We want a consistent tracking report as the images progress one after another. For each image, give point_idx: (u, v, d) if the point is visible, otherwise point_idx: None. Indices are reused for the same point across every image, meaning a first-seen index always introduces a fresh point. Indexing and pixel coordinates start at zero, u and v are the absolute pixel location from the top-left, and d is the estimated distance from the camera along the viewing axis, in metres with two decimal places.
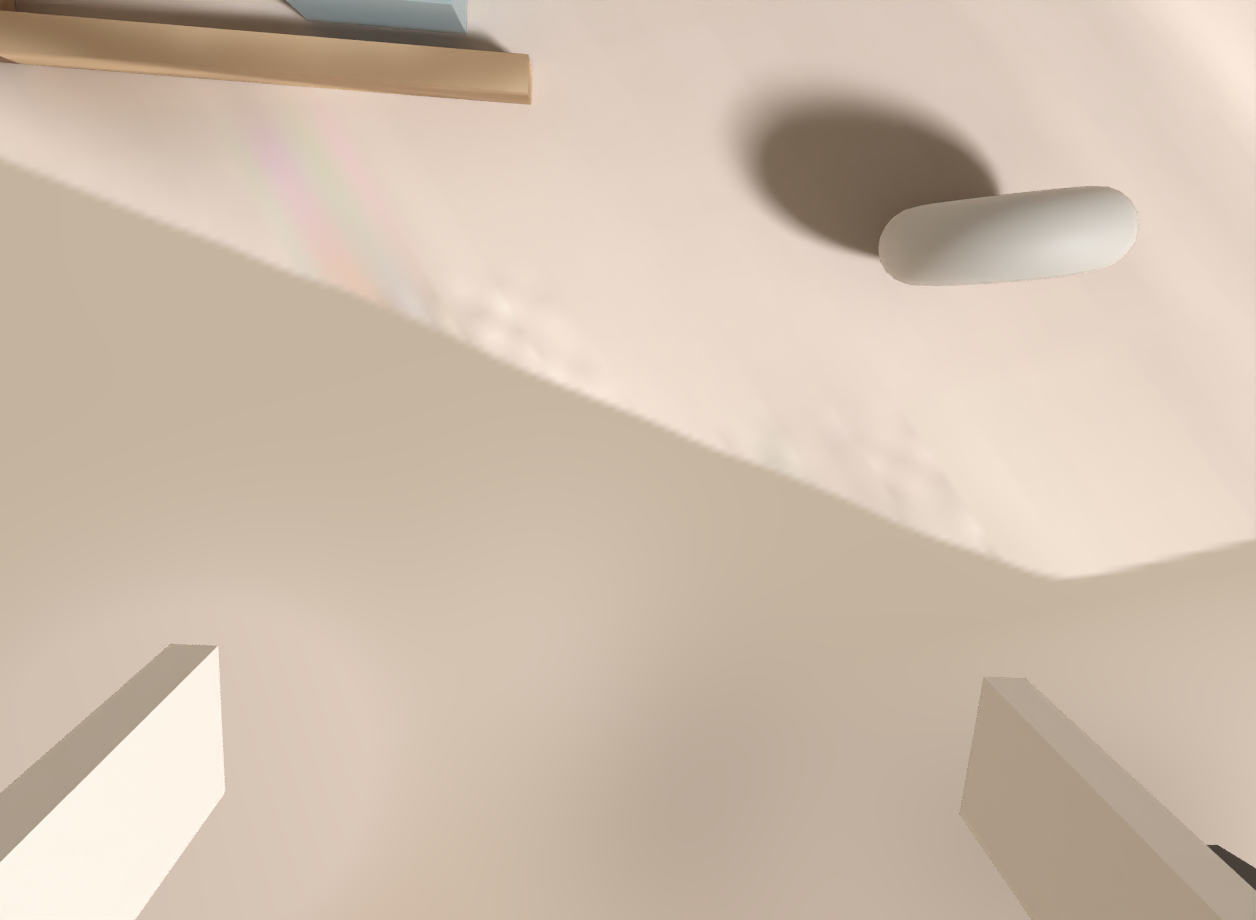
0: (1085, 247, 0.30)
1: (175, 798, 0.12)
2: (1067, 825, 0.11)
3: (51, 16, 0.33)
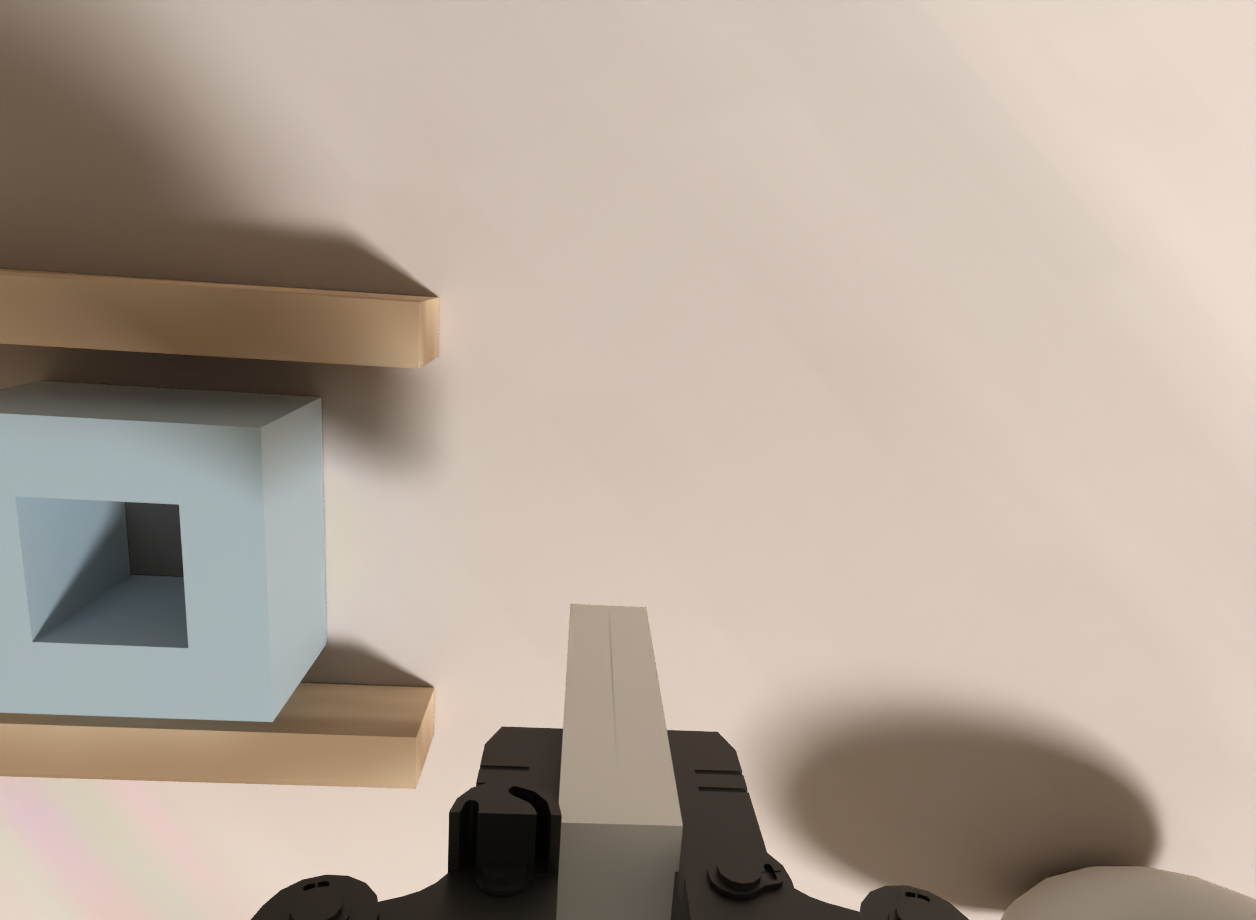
0: None
1: None
2: None
3: None
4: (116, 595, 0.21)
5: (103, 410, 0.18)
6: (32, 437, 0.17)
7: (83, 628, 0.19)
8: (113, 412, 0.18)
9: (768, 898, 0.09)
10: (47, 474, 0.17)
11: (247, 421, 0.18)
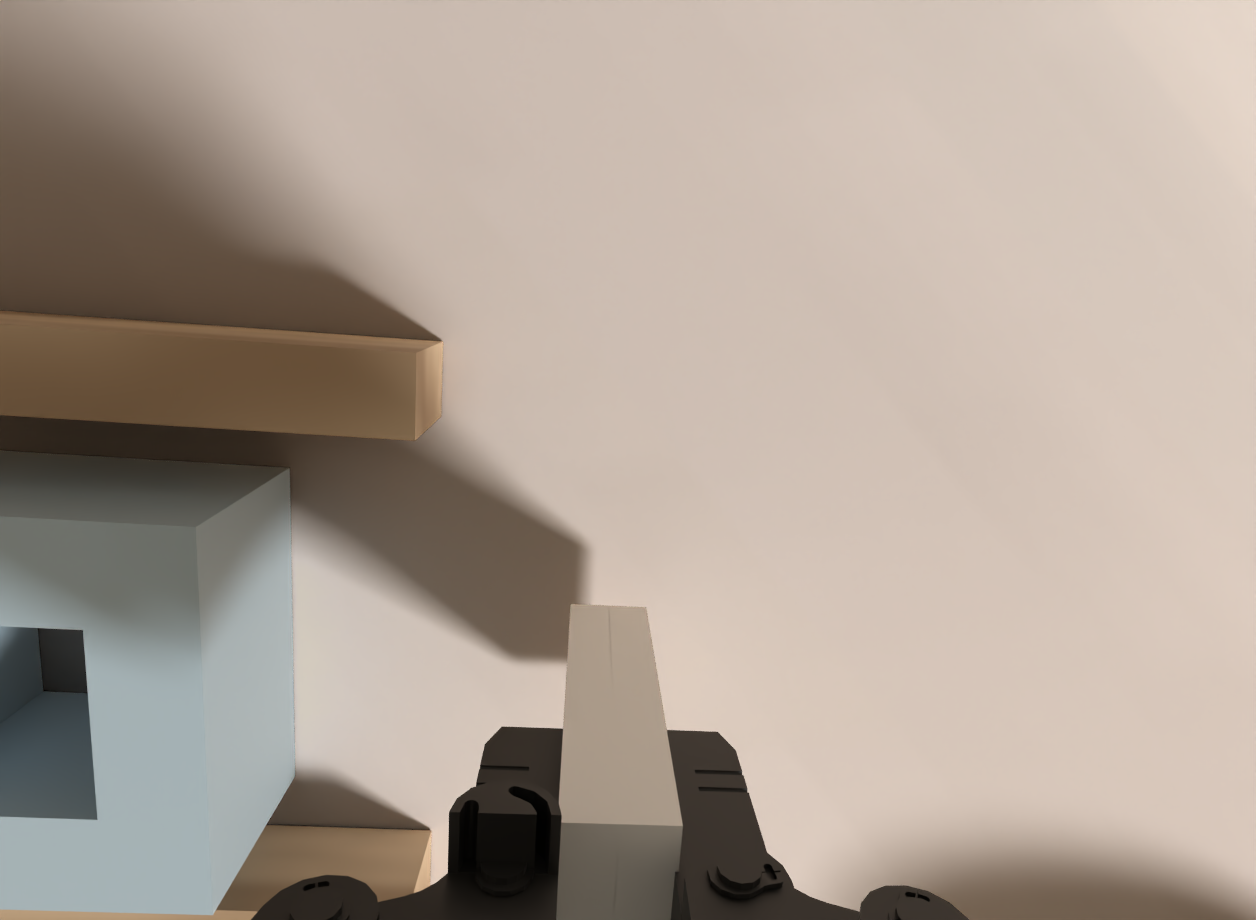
0: None
1: None
2: None
3: None
4: (17, 726, 0.16)
5: None
6: None
7: None
8: None
9: (768, 898, 0.09)
10: None
11: (180, 515, 0.13)
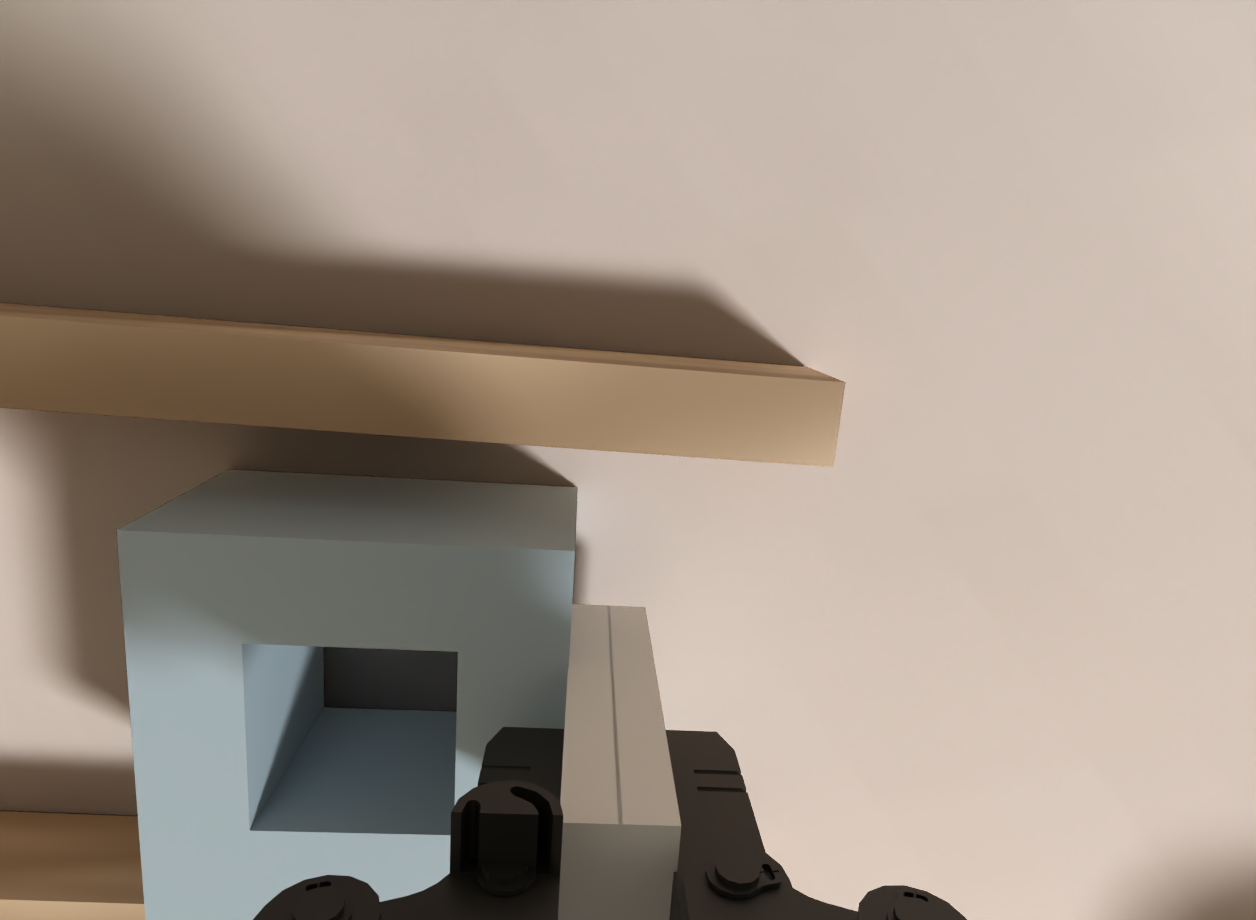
0: None
1: None
2: None
3: None
4: (322, 743, 0.16)
5: (351, 524, 0.13)
6: (271, 566, 0.13)
7: (305, 803, 0.14)
8: (367, 527, 0.13)
9: (766, 898, 0.09)
10: (287, 614, 0.13)
11: (545, 538, 0.13)
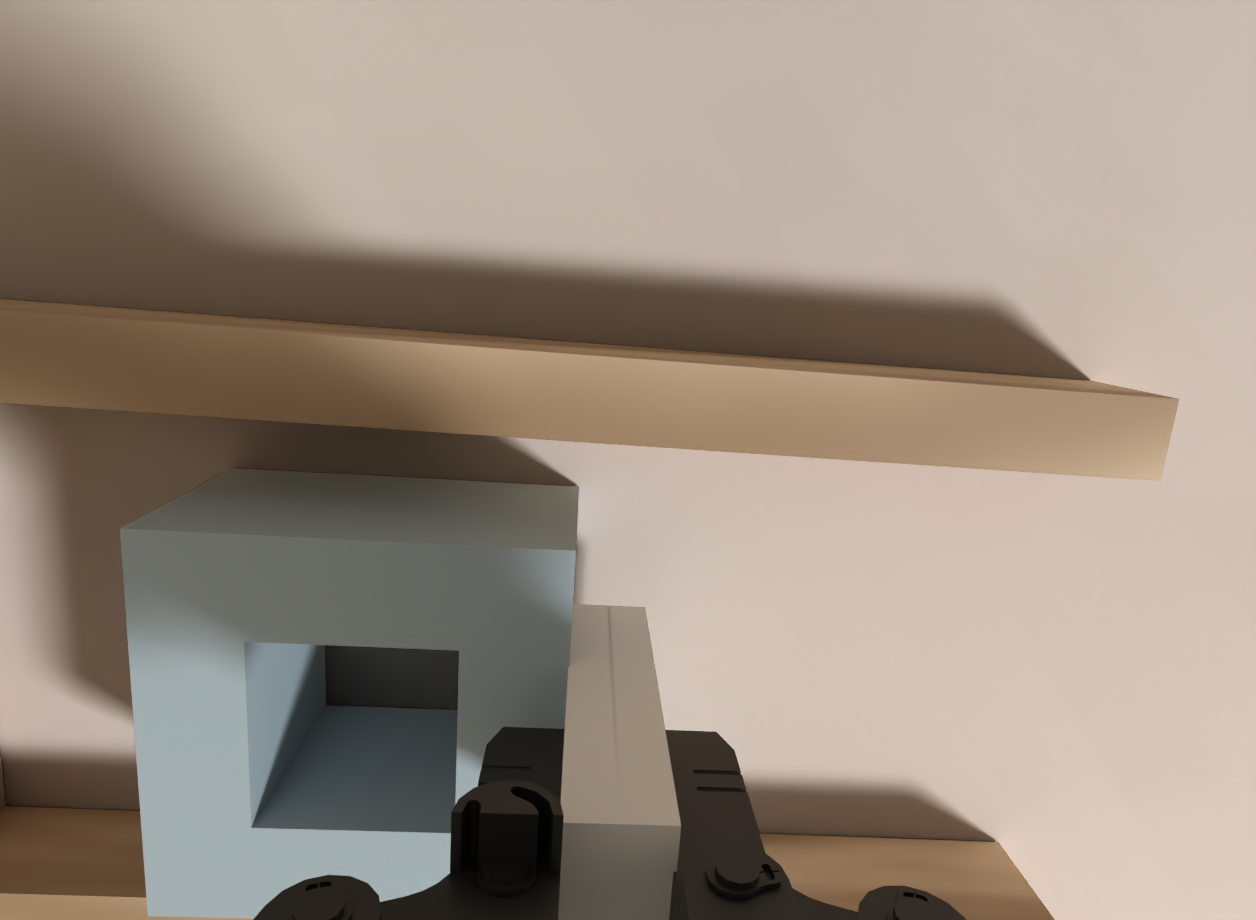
0: None
1: None
2: None
3: (79, 900, 0.15)
4: (323, 741, 0.16)
5: (353, 523, 0.13)
6: (273, 565, 0.13)
7: (306, 801, 0.14)
8: (368, 526, 0.13)
9: (766, 898, 0.09)
10: (289, 613, 0.13)
11: (546, 538, 0.13)
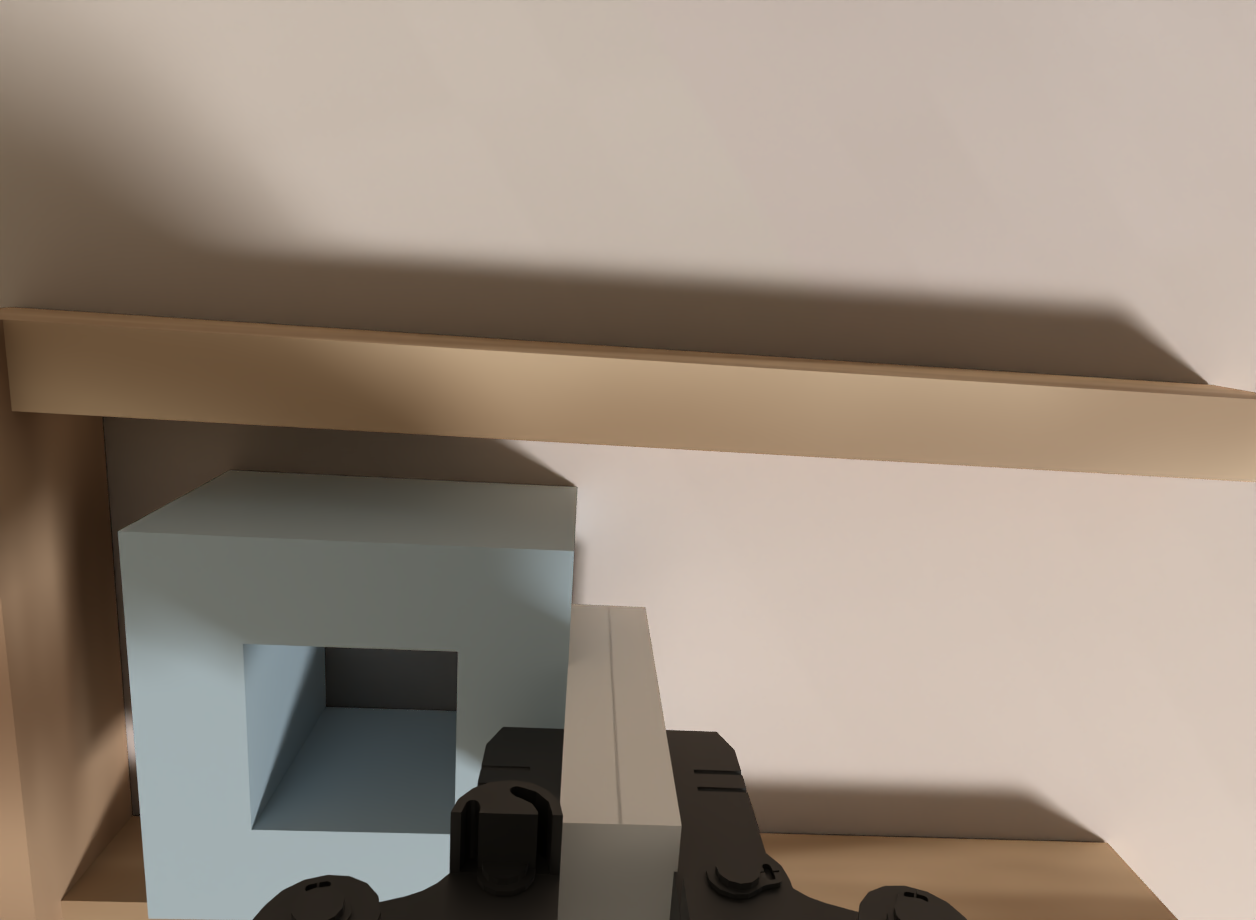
0: None
1: None
2: None
3: None
4: (323, 742, 0.16)
5: (351, 524, 0.13)
6: (271, 567, 0.13)
7: (306, 802, 0.14)
8: (367, 527, 0.13)
9: (767, 898, 0.09)
10: (287, 615, 0.13)
11: (544, 538, 0.13)
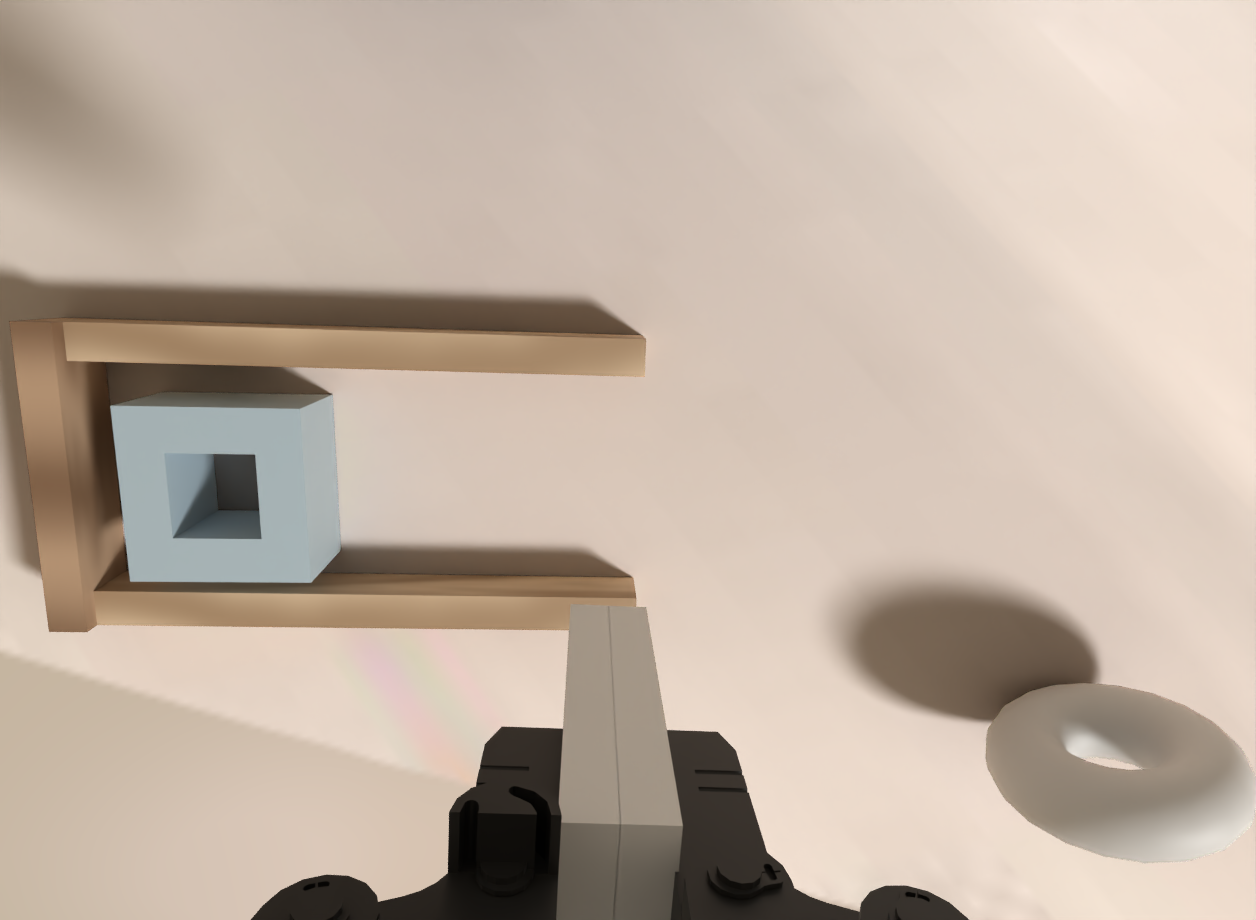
0: (1213, 849, 0.30)
1: None
2: None
3: (168, 594, 0.34)
4: (213, 519, 0.34)
5: (210, 403, 0.31)
6: (174, 419, 0.31)
7: (199, 532, 0.32)
8: (216, 404, 0.31)
9: (768, 898, 0.09)
10: (182, 440, 0.31)
11: (292, 406, 0.31)
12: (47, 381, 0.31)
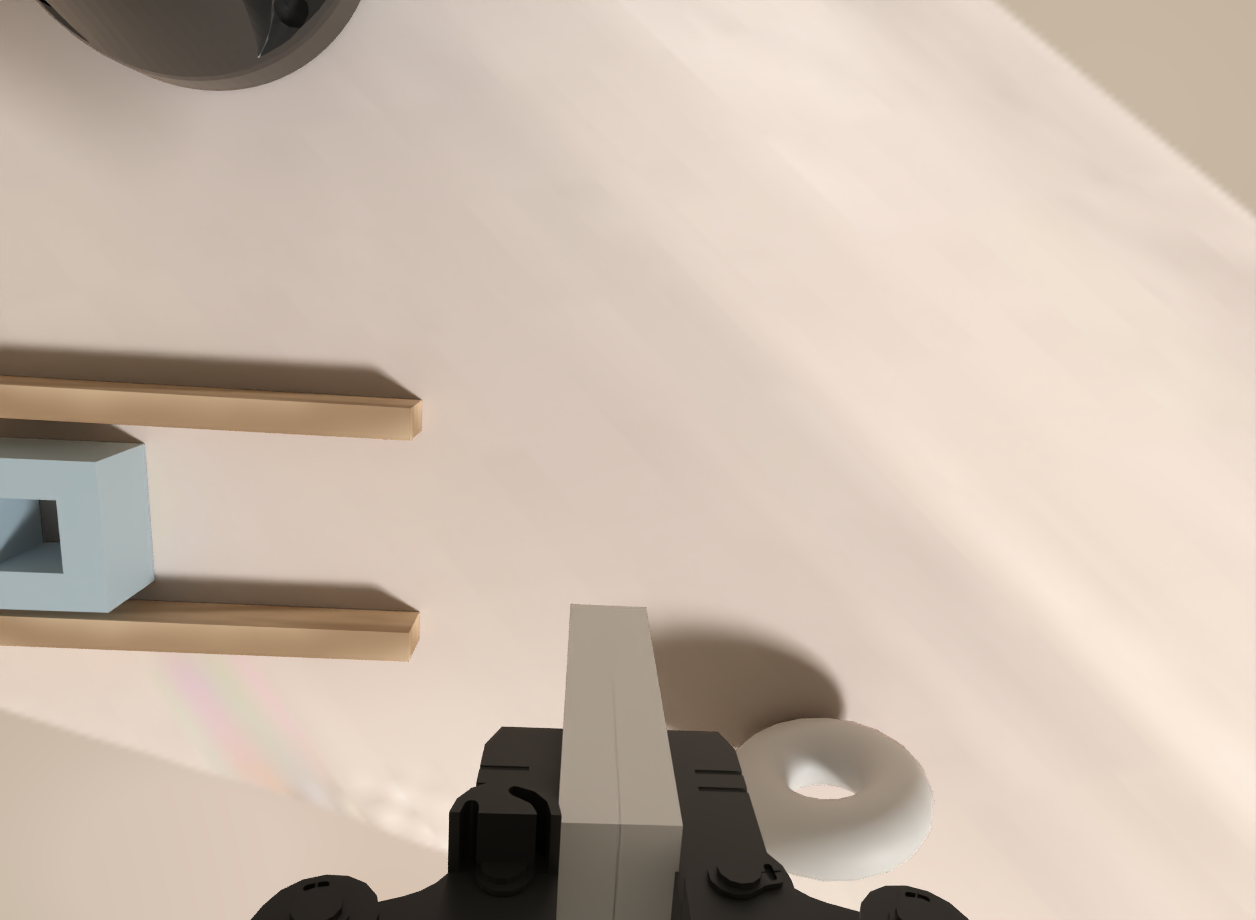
0: (875, 871, 0.35)
1: None
2: None
3: None
4: (32, 551, 0.39)
5: (19, 454, 0.36)
6: None
7: (11, 565, 0.37)
8: (24, 455, 0.36)
9: (768, 898, 0.09)
10: None
11: (90, 458, 0.36)
12: None
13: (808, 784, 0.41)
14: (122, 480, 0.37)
